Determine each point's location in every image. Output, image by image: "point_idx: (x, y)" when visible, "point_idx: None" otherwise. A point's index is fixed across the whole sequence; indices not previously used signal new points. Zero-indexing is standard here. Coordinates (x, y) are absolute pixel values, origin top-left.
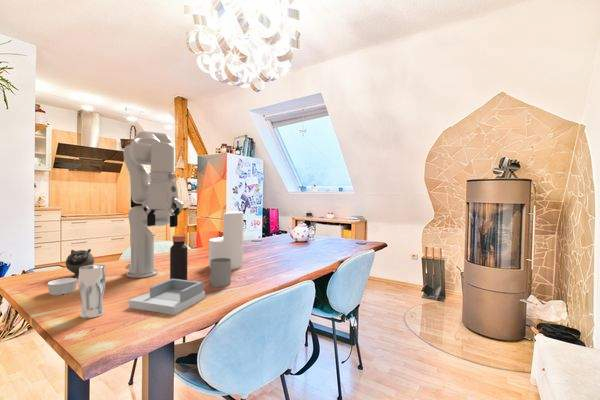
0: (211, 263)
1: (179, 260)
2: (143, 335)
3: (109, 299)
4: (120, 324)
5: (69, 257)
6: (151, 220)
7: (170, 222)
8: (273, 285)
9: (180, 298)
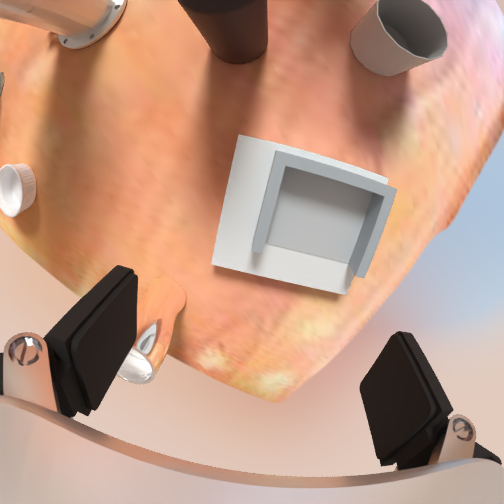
0: (388, 41)
1: (247, 30)
2: (317, 357)
3: (130, 209)
4: (254, 330)
5: None
6: (115, 349)
7: (374, 416)
8: (497, 90)
9: (351, 266)
